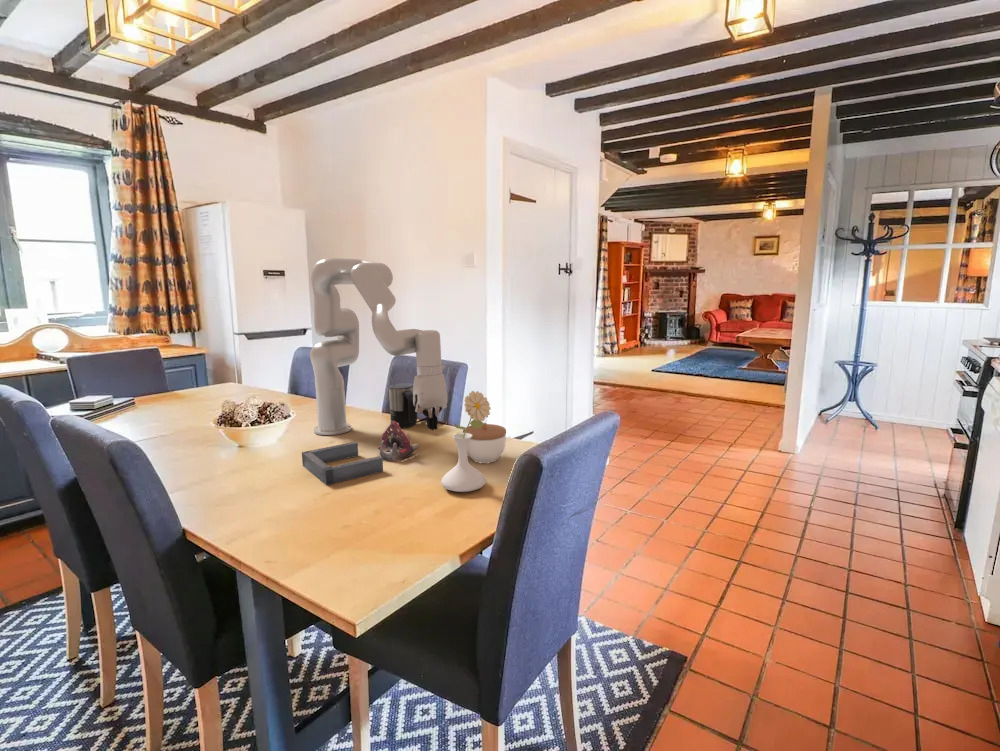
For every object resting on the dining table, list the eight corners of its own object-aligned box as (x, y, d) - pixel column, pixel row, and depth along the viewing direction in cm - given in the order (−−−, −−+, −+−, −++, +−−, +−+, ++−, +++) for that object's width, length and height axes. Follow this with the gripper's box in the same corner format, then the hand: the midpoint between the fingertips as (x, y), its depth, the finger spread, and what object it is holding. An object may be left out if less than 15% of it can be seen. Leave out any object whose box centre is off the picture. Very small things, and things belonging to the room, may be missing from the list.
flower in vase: (449, 499, 131) (446, 398, 126) (435, 483, 141) (432, 389, 136) (498, 490, 136) (497, 393, 131) (482, 475, 146) (480, 385, 142)
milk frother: (384, 426, 195) (382, 386, 192) (414, 416, 208) (413, 379, 205) (413, 432, 187) (411, 390, 184) (442, 422, 200) (441, 382, 197)
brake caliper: (365, 452, 159) (381, 415, 163) (387, 464, 167) (401, 429, 172) (394, 458, 153) (410, 420, 157) (415, 471, 162) (429, 434, 166)
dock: (302, 465, 155) (301, 452, 154) (355, 454, 164) (355, 441, 164) (326, 485, 140) (325, 470, 139) (383, 471, 150) (382, 457, 149)
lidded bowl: (454, 460, 159) (453, 423, 157) (484, 449, 168) (484, 415, 166) (485, 470, 150) (484, 432, 148) (515, 458, 159) (515, 422, 157)
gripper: (443, 366, 172) (446, 422, 175) (401, 372, 163) (405, 431, 167) (456, 369, 166) (459, 426, 170) (413, 375, 158) (417, 436, 161)
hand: (432, 428), depth 168 cm, fingers closed
